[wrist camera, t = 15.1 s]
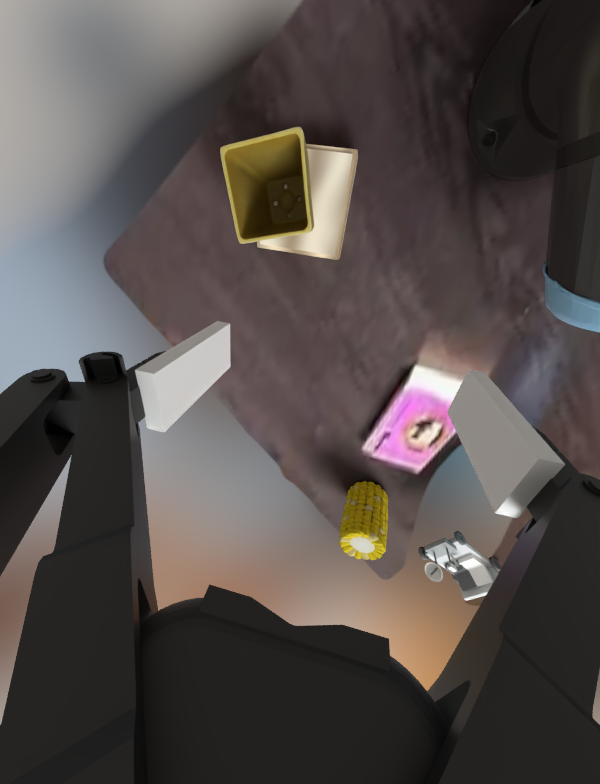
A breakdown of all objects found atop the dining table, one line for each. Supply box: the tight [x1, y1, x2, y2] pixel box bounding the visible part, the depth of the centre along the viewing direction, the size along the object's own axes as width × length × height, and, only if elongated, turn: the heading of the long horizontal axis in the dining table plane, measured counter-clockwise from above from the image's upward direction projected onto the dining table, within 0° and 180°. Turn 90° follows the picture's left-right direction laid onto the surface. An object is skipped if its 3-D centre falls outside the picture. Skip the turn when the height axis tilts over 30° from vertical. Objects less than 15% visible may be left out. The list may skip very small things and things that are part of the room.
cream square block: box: [257, 144, 358, 260], centre depth 38 cm, size 12×12×4 cm
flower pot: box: [220, 127, 314, 244], centre depth 32 cm, size 9×9×9 cm
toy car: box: [419, 531, 501, 601], centre depth 66 cm, size 18×10×12 cm
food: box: [339, 481, 388, 560], centre depth 60 cm, size 15×12×10 cm
